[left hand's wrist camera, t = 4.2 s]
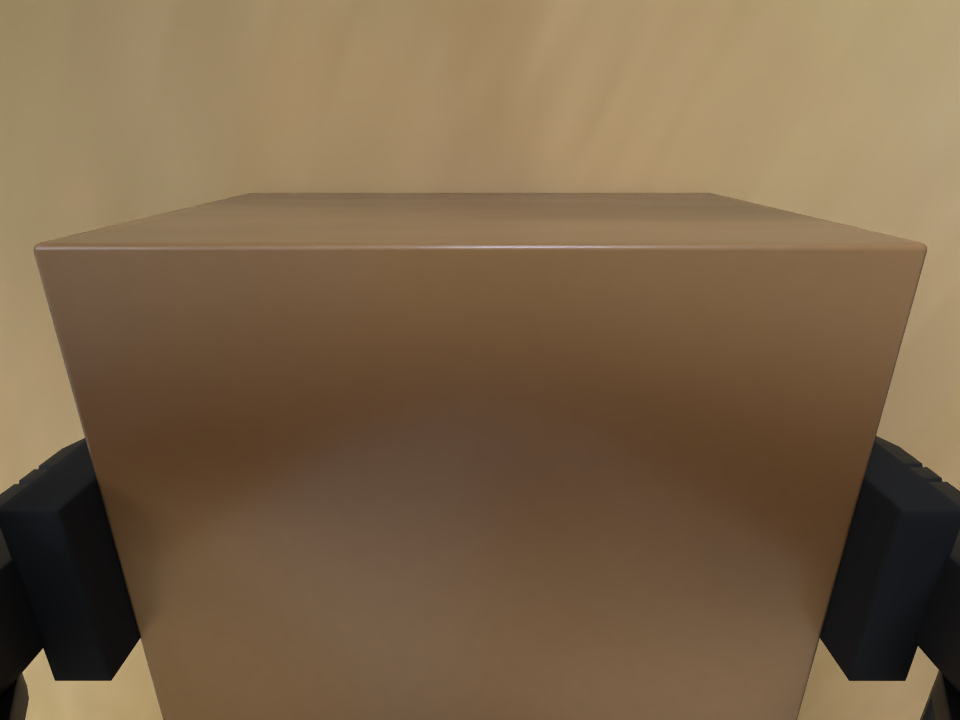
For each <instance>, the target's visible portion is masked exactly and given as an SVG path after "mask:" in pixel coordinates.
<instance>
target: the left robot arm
mask: <svg viewBox="0 0 960 720" xmlns="http://www.w3.org/2000/svg"><path fill="white" fill-rule="evenodd" d="M140 638H141V637H140V633H139V630H138V626H137V623H136V619H135V615H134V612H133V608H132V605H131V601H130V597H129V594H128V590H127V586H126V583H125V579H124V576H123V572H122V568H121V565H120V561H119V558H118V554H117V550H116V547H115V543H114V540H113V536H112V532H111V529H110V525H109V521H108V518H107V514H106V511H105V507H104V503H103V500H102V496H101V493H100V489H99V485H98V482H97V478H96V475H95V471H94V467H93V464H92V460H91V456H90V453H89V449H88V446H87V442H86V438H84V439H82V440H80V441H78V442H76V443H73V444H71V445H69V446H67V447H65V448H63V449H61V450H60V451H58V452H57V453H56V454H54V455H53V456H52V457H50V458H49V459H48V460H46V461H45V462H44V463H42V464H41V465H40V466H39V469H34V470H33V471H31V472H30V473H29V474H27V475H26V476H25V477H23V478H22V479H21V480H19V484H14V485H13V486H11V487H10V488H9V489H7V490H6V491H4V492H3V493H2V494H0V720H25V717H26V712H27V706H28V700H29V696H28V689H27V685H26V682H25V680H24V677H23V674H22V672H23V671H24V670H25V668H26V667H27V666H28V665H29V664H30V663H31V661H32V660H33V659H34V658H35V657H36V656H37V654H38V653H39V652H40V651H41V650H42V649H43V648H44V651H45V654H46V656H47V659H48V662H49V665H50V668H51V670H52V673H53V676H54V679H55V681H111V680H112V679H113V677H114V676H115V674H116V673H117V671H118V670H119V668H120V667H121V666H122V664H123V663H124V661H125V660H126V658H127V657H128V655H129V654H130V652H131V651H132V649H133V648H134V646H135V645H136V644H137V642H138V641H139V639H140ZM820 639H821V640H822V642H823V643H824V644H825V646H826V647H827V649H828V650H829V652H830V653H831V655H832V656H833V658H834V659H835V661H836V662H837V664H838V665H839V666H840V668H841V669H842V671H843V672H844V674H845V675H846V677H847V678H848V680H849V681H905V680H906V677H907V675H908V672H909V669H910V666H911V663H912V661H913V658H914V655H915V652H916V650H917V647H918V646H919V647H920V648H921V650H922V651H923V652H924V653H925V654H926V655H927V656H928V658H929V659H930V660H931V661H932V662H933V663H934V665H935V666H936V667H937V668H938V669H939V672H938V674H937V677H936V680H935V682H934V685H933V687H932V690H931V693H930V695H929V698H928V700H927V703H926V706H925V708H924V711H923V713H922V716H921V719H920V720H960V491H959V490H957V489H956V488H955V487H953V486H952V485H950V484H949V483H948V482H942V478H941V477H940V476H938V475H937V474H935V473H934V472H933V471H931V470H930V469H929V468H927V467H922V463H920V462H919V461H918V460H916V459H915V458H914V457H912V456H911V455H910V454H908V453H907V452H905V451H904V450H903V449H901V448H900V447H899V446H896V445H894V444H892V443H890V442H888V441H886V440H883V439H881V438H879V437H877V436H875V440H874V443H873V447H872V451H871V454H870V458H869V461H868V465H867V469H866V472H865V476H864V479H863V483H862V487H861V490H860V494H859V498H858V501H857V505H856V508H855V512H854V516H853V519H852V523H851V526H850V530H849V534H848V537H847V541H846V544H845V548H844V552H843V555H842V559H841V562H840V566H839V570H838V573H837V577H836V580H835V584H834V588H833V591H832V595H831V598H830V602H829V606H828V609H827V613H826V616H825V620H824V624H823V627H822V631H821V634H820Z"/></svg>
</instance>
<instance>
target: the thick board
mask: <svg viewBox="0 0 960 720" xmlns="http://www.w3.org/2000/svg"><path fill="white" fill-rule="evenodd" d="M926 252H927V247H926V246H925V245H924V244H922V243H919V242H915V241H911V240H907V239H902V238H898V237H894V236H890V235H886V234H881V233H877V232H873V231H869V230H864V229H860V228H856V227H852V226H847V225H843V224H839V223H835V222H830V221H826V220H822V219H818V218H813V217H809V216H805V215H801V214H796V213H792V212H788V211H784V210H779V209H775V208H771V207H767V206H762V205H758V204H754V203H750V202H745V201H741V200H737V199H733V198H728V197H724V196H720V195H716V194H711V193H248V194H244V195H240V196H236V197H231V198H227V199H223V200H219V201H215V202H210V203H206V204H202V205H198V206H193V207H189V208H185V209H181V210H176V211H172V212H168V213H164V214H160V215H155V216H151V217H147V218H143V219H138V220H134V221H130V222H126V223H121V224H117V225H113V226H109V227H105V228H100V229H96V230H92V231H88V232H83V233H79V234H75V235H71V236H67V237H62V238H58V239H54V240H50V241H45V242H41V243H39V244H37V245H35V246H34V254H35V258H36V261H37V265H38V269H39V272H40V276H41V279H42V283H43V287H44V290H45V294H46V298H47V301H48V305H49V308H50V312H51V316H52V319H53V323H54V326H55V330H56V334H57V337H58V341H59V345H60V348H61V352H62V355H63V359H64V363H65V366H66V370H67V373H68V377H69V381H70V384H71V388H72V391H73V395H74V399H75V402H76V406H77V410H78V413H79V417H80V420H81V424H82V428H83V431H84V435H85V438H86V442H87V446H88V449H89V453H90V456H91V460H92V464H93V467H94V471H95V475H96V478H97V482H98V485H99V489H100V493H101V496H102V500H103V503H104V507H105V511H106V514H107V518H108V521H109V525H110V529H111V532H112V536H113V540H114V543H115V547H116V550H117V554H118V558H119V561H120V565H121V568H122V572H123V576H124V579H125V583H126V586H127V590H128V594H129V597H130V601H131V605H132V608H133V612H134V615H135V619H136V623H137V626H138V630H139V633H140V637H141V641H142V644H143V648H144V651H145V655H146V659H147V662H148V666H149V670H150V673H151V677H152V680H153V684H154V688H155V691H156V695H157V698H158V702H159V706H160V709H161V713H162V716H163V720H797V717H798V714H799V710H800V707H801V703H802V699H803V696H804V692H805V689H806V685H807V681H808V678H809V674H810V671H811V667H812V663H813V660H814V656H815V652H816V649H817V645H818V642H819V638H820V634H821V631H822V627H823V624H824V620H825V616H826V613H827V609H828V606H829V602H830V598H831V595H832V591H833V588H834V584H835V580H836V577H837V573H838V570H839V566H840V562H841V559H842V555H843V552H844V548H845V544H846V541H847V537H848V534H849V530H850V526H851V523H852V519H853V516H854V512H855V508H856V505H857V501H858V498H859V494H860V490H861V487H862V483H863V479H864V476H865V472H866V469H867V465H868V461H869V458H870V454H871V451H872V447H873V443H874V440H875V436H876V433H877V429H878V425H879V422H880V418H881V415H882V411H883V407H884V404H885V400H886V397H887V393H888V389H889V386H890V382H891V379H892V375H893V371H894V368H895V364H896V361H897V357H898V353H899V350H900V346H901V343H902V339H903V335H904V332H905V328H906V325H907V321H908V317H909V314H910V310H911V306H912V303H913V299H914V296H915V292H916V288H917V285H918V281H919V278H920V274H921V270H922V267H923V263H924V260H925V256H926Z"/></svg>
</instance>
